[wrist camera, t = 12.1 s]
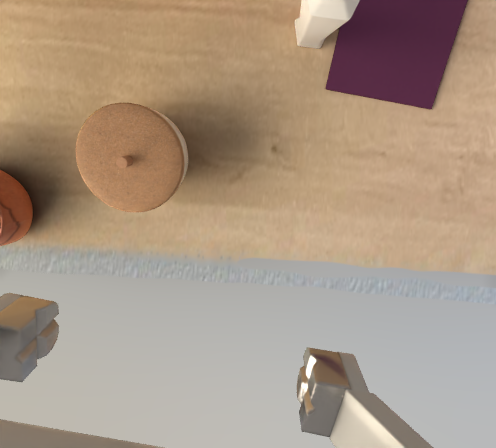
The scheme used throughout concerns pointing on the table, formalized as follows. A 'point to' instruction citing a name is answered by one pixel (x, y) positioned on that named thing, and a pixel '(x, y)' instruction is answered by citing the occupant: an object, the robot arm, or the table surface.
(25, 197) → the potted flower
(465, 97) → the table surface
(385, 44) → the cloth
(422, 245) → the table surface
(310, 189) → the table surface
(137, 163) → the trinket box
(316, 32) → the white faceted vase
